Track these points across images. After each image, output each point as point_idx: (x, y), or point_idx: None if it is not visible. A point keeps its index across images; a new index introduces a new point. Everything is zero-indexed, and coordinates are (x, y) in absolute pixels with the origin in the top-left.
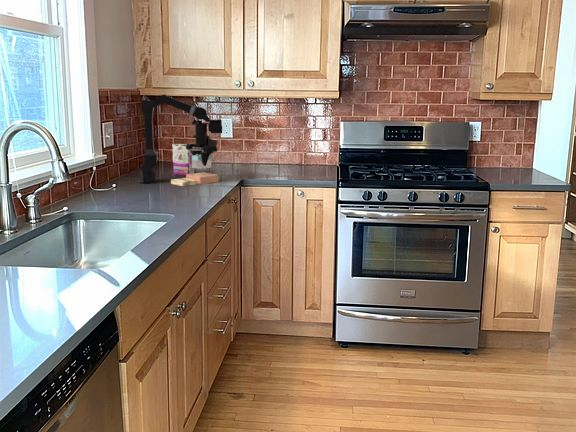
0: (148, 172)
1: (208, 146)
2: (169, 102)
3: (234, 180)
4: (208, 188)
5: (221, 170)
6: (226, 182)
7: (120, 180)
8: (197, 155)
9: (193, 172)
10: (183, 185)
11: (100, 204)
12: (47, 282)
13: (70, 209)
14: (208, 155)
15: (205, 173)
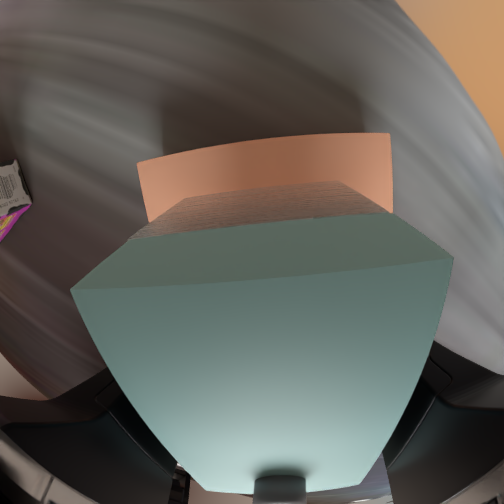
0: (176, 464)
1: None
2: None
3: (357, 4)
4: (472, 313)
5: (2, 6)
6: (411, 101)
7: None
8: (302, 490)
9: (8, 170)
10: None
11: (378, 488)
12: None
13: (372, 497)
14: (483, 392)
15: (214, 186)
